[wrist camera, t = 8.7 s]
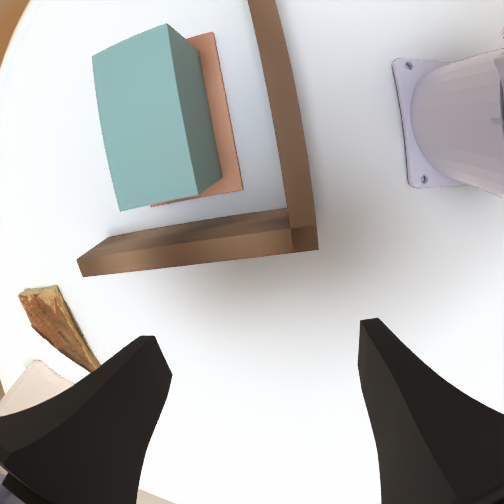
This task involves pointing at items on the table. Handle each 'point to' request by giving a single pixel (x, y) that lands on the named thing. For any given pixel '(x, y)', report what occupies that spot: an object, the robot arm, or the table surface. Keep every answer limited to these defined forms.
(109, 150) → the teal block
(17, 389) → the jar
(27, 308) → the shard
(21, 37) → the table surface
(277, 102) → the corner arena
